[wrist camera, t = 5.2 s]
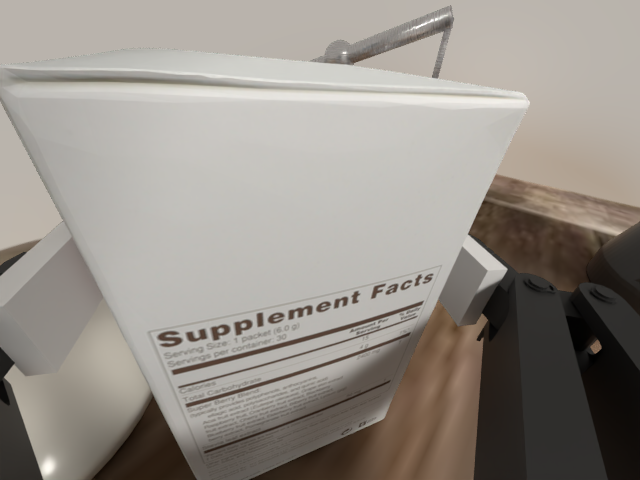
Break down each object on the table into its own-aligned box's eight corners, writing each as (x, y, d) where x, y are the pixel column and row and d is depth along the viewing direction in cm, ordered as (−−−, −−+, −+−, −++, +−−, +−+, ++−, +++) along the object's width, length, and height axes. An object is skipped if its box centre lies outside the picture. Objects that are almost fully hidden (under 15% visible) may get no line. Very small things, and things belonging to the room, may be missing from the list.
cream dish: (215, 359, 16) (212, 346, 15) (-223, 800, 6) (-288, 819, 6) (90, 275, 21) (83, 262, 20) (-266, 451, 11) (-304, 437, 10)
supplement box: (194, 327, 18) (116, 42, 9) (323, 297, 21) (350, 62, 12) (198, 508, 11) (-76, 41, 3) (390, 423, 14) (549, 87, 6)
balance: (432, 242, 28) (516, 15, 18) (417, 280, 23) (521, -8, 13) (264, 187, 37) (257, 9, 26) (224, 206, 31) (197, -6, 21)
